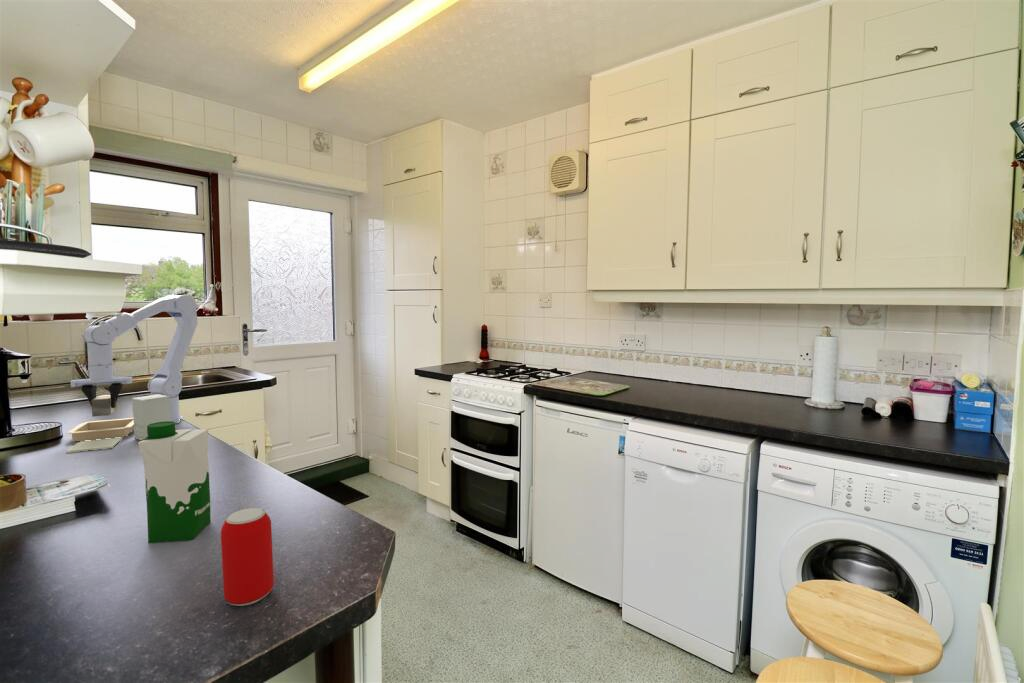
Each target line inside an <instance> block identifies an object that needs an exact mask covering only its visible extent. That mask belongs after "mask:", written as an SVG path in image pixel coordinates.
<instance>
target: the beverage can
mask: <svg viewBox="0 0 1024 683" xmlns="http://www.w3.org/2000/svg"><path fill="white" fill-rule="evenodd" d="M220 545H221V547H220V548H221V561H222V562H221V563H222V564H221V565H222V567H221V568H222V580H223V597H224V600H225V602H226V603H227V604H229V605H231V606H238V607H239V606H240V607H244V606H249V605H253V604H255V603H258V602H260V601H261V600H262V599H264V598H265V597H266V596H268V594H270V592H271V590H272V589H273V588H274V584H275V580H274V579H275V577H274V560H273V559H274V558H273V554H274V553H273V535H272V520H271V518H270V515H268V513H267V512H266V511H265V510H264V509H261V508H259V507H257V508H256V507H250V508H244V509H241V510H240V509H239V510H237V511H235V512H232V513H230V515H228V516H227V517H226V519H225V521H224V522H223V524H222V525H221V529H220Z"/></svg>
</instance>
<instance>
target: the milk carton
mask: <svg viewBox="0 0 1024 683" xmlns="http://www.w3.org/2000/svg"><path fill="white" fill-rule="evenodd" d="M147 434H148V436H147V437H146V438H145V439H143V440H142V441H141V440H139V441H138V443H137V444H138V447H139V450H140V454H141V457H142V461H143V467H144V468H143V469H144V471H143V472H144V483H145V486H144V487H145V499H146V516H147V522H146V523H147V543H148V544H154V543H155V544H156V543H168V542H181V541H182V542H183V541H184V542H186V541H193V540H195V538H196V537H197V536H199V534H200V533H202V532H203V530H205V528H207V526H209V525H210V523H211V491H210V490H211V488H210V487H211V486H210V471H209V448H208V447H209V429H208V428H205V429H204V428H202V429H201V428H200V429H199V428H198V429H194V428H186V429H176V423H175V422H172V421H166V422H157V423H152V424H149V425H148V426H147Z"/></svg>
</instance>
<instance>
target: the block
mask: <svg viewBox="0 0 1024 683" xmlns="http://www.w3.org/2000/svg"><path fill="white" fill-rule="evenodd" d="M91 404H92V407H91V415H92V417H103V416H104V417H105V416H106V417H107V416H110V415H112V414H113V413H114V412H116V411H117V409H118V408H117V405H116V407H115V408H111V396H110V394H106V395H105V394H104V395H103V394H102V395H99V396H96V398H95V399H93V400H91ZM91 404H90V405H91Z"/></svg>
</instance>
